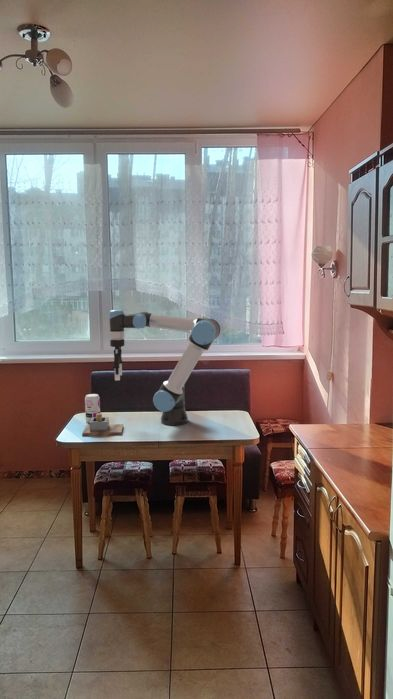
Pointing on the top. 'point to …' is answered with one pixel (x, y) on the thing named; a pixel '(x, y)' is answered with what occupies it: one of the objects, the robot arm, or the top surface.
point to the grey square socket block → (99, 424)
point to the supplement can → (92, 406)
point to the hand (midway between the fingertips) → (118, 377)
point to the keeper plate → (112, 430)
